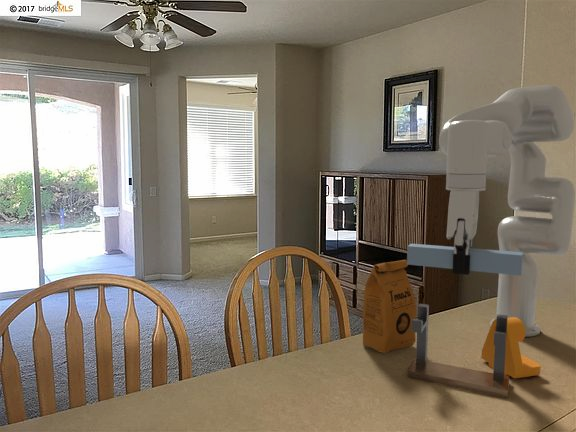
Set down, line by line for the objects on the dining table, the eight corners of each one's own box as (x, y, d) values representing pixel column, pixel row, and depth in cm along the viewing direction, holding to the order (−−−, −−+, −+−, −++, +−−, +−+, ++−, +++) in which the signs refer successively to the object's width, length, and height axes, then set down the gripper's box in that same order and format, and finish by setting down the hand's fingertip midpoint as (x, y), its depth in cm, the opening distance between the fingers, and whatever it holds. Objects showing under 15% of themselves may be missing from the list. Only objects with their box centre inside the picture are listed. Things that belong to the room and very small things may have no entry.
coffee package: (421, 348, 120) (424, 262, 117) (382, 358, 114) (385, 268, 111) (394, 335, 129) (396, 255, 126) (357, 344, 123) (358, 260, 120)
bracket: (542, 377, 104) (545, 324, 103) (514, 382, 102) (517, 328, 101) (506, 357, 115) (509, 309, 113) (481, 361, 113) (483, 312, 111)
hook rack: (414, 364, 111) (416, 301, 109) (508, 383, 102) (513, 314, 100) (405, 379, 103) (407, 312, 101) (507, 401, 94) (511, 327, 92)
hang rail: (410, 261, 105) (410, 243, 104) (521, 272, 95) (522, 252, 95) (407, 264, 102) (407, 246, 102) (521, 275, 92) (522, 255, 92)
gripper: (452, 179, 105) (449, 261, 108) (439, 185, 91) (436, 279, 93) (489, 180, 102) (485, 264, 104) (482, 186, 87) (477, 283, 90)
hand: (462, 270), depth 99 cm, fingers closed on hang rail, 3 cm apart
